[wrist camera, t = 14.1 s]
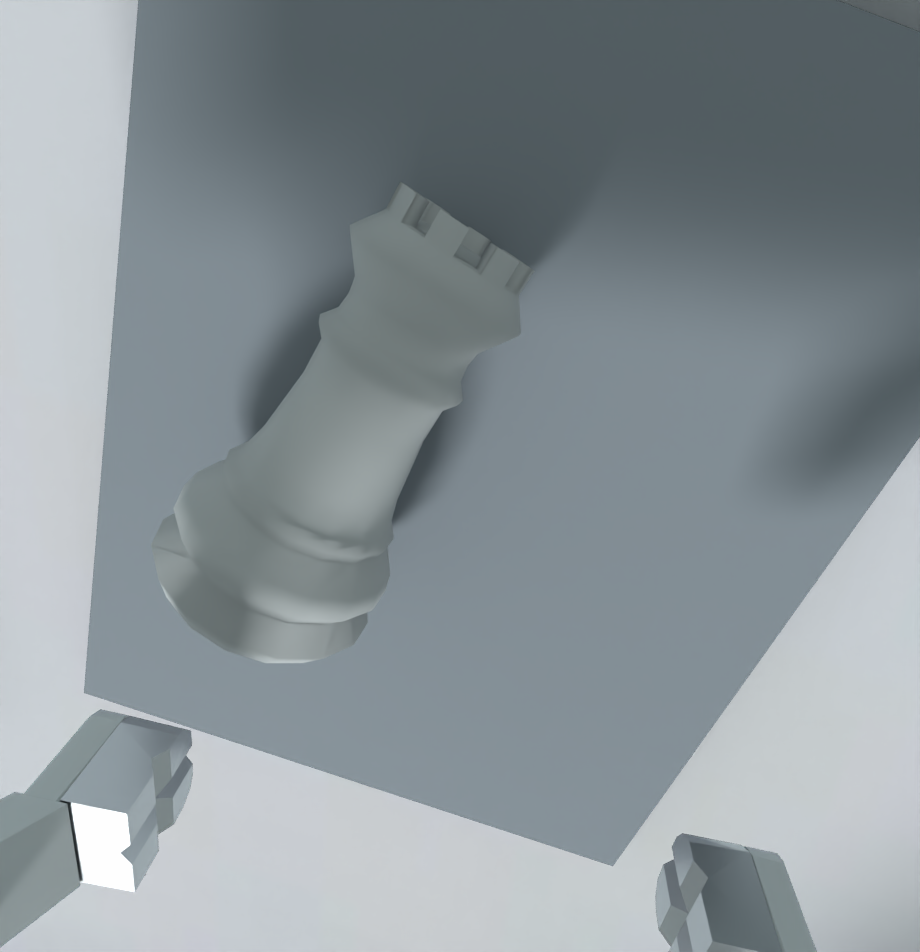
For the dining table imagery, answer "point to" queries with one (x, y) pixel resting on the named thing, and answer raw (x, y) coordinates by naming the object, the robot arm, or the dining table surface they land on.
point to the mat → (523, 368)
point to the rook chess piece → (339, 444)
